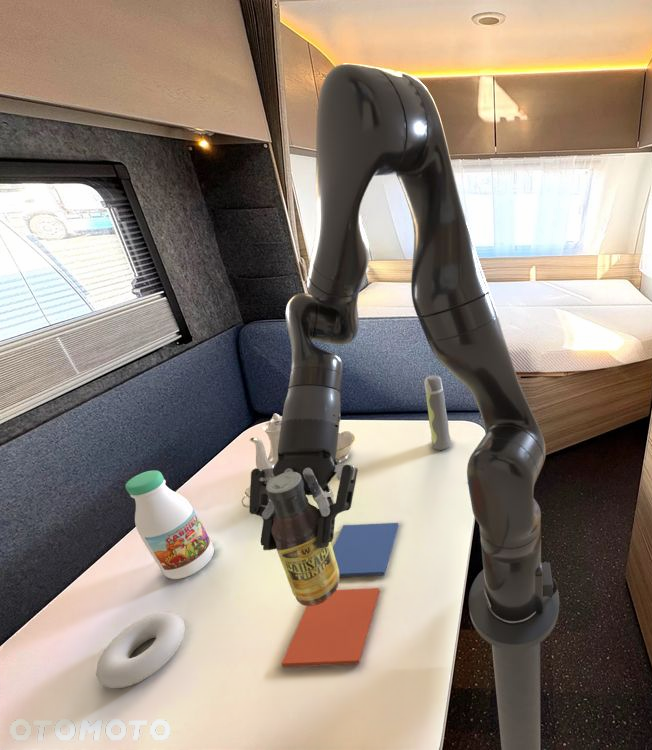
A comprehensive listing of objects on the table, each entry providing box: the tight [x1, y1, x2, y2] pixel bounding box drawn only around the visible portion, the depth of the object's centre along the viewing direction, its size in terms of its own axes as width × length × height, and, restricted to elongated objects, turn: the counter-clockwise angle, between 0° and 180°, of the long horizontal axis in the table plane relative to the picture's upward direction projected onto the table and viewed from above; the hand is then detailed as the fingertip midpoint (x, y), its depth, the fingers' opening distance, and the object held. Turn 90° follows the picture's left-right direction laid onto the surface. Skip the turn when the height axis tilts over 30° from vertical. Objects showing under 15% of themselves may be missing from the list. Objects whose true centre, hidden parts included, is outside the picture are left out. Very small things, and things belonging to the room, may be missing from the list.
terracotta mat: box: [281, 587, 381, 668], centre depth 60 cm, size 11×11×1 cm
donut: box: [95, 611, 186, 689], centre depth 57 cm, size 10×4×10 cm
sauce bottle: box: [266, 472, 341, 607], centre depth 52 cm, size 6×6×20 cm
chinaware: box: [241, 412, 356, 508], centre depth 90 cm, size 28×17×17 cm, turn 154°
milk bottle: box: [125, 470, 215, 580], centre depth 67 cm, size 8×8×20 cm
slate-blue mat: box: [332, 522, 399, 578], centre depth 72 cm, size 11×11×1 cm
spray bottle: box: [423, 375, 452, 451], centre depth 97 cm, size 5×5×20 cm
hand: (296, 548), depth 50 cm, fingers closed on sauce bottle, 6 cm apart
